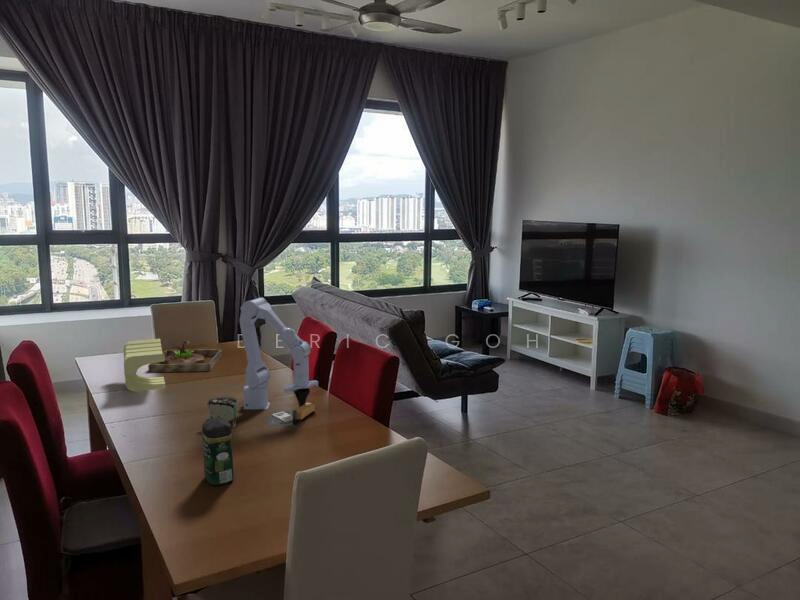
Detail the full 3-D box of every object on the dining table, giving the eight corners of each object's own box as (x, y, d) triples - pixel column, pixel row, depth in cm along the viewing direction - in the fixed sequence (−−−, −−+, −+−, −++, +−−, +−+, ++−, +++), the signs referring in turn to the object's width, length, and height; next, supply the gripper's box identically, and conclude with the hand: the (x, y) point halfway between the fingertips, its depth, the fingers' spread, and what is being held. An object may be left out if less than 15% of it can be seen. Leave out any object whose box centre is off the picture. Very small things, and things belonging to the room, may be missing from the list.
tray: (266, 427, 227) (266, 413, 226) (271, 413, 241) (271, 400, 240) (299, 426, 228) (299, 413, 227) (302, 412, 242) (302, 399, 242)
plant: (211, 363, 313) (210, 342, 311) (174, 370, 300) (172, 348, 298) (194, 355, 327) (193, 335, 326) (157, 362, 314) (156, 341, 312)
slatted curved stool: (125, 379, 284) (123, 341, 281) (162, 375, 291) (160, 338, 288) (126, 398, 257) (123, 357, 254) (166, 393, 264) (164, 353, 261)
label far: (278, 418, 234) (278, 417, 234) (271, 415, 237) (271, 414, 237) (289, 415, 237) (289, 414, 237) (283, 412, 241) (283, 411, 241)
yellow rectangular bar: (301, 419, 231) (301, 413, 231) (293, 418, 232) (293, 411, 232) (315, 409, 242) (315, 403, 242) (307, 408, 243) (307, 402, 243)
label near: (285, 422, 230) (285, 421, 230) (278, 418, 234) (278, 417, 234) (296, 419, 233) (296, 418, 233) (289, 415, 237) (289, 414, 237)
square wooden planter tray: (148, 372, 296) (148, 364, 295) (166, 356, 324) (165, 350, 324) (210, 371, 298) (210, 364, 298) (222, 355, 327) (221, 349, 326)
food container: (246, 424, 230) (245, 398, 228) (236, 430, 224) (235, 403, 222) (218, 420, 234) (217, 394, 232) (208, 425, 228) (206, 399, 226)
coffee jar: (201, 476, 187) (198, 417, 184) (227, 470, 191) (225, 413, 188) (210, 488, 179) (207, 428, 176) (236, 482, 183) (234, 423, 180)
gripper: (290, 379, 232) (291, 413, 234) (322, 372, 242) (322, 405, 244) (280, 375, 237) (281, 408, 240) (312, 368, 247) (312, 400, 249)
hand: (301, 406), depth 242 cm, fingers closed
